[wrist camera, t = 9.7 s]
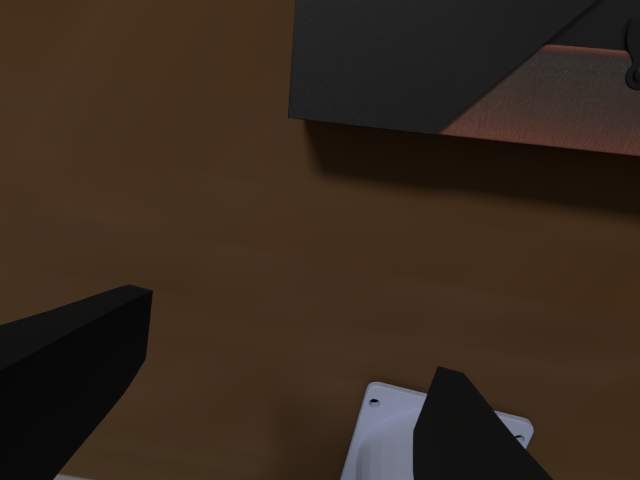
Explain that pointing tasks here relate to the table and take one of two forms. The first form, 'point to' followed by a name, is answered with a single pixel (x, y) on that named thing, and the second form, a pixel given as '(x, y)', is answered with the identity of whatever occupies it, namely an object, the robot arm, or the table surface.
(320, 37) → the picture frame
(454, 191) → the table surface
